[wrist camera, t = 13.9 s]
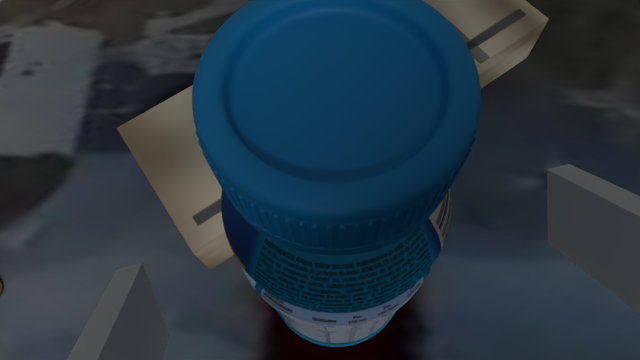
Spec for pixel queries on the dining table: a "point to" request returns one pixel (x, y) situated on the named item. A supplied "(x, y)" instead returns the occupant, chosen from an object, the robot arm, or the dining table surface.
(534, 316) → the dining table surface
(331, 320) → the beverage bottle
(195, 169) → the birch board
